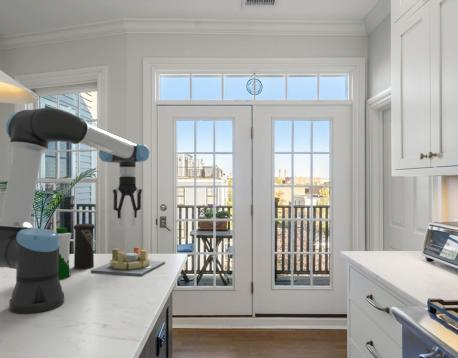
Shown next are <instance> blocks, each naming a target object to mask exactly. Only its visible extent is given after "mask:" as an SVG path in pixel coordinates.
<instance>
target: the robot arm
mask: <svg viewBox="0 0 458 358" xmlns="http://www.w3.org/2000/svg"><path fill="white" fill-rule="evenodd" d="M5 131H6V132H5V133H6V134H7V135H8V138H9V139H10V140H9V146H11V148H12V149H13V152H12V157H11V163H10V167H9V173H8V179H7V182H6V186H5V187H6V188H5V193H4V199H3V203H2V209H1V214H0V268H7V269H13V270H16V273H15V275H16V276H15V277H16V280H15V286H14V288H13V291H12V294H11V298H9V302H8V310H9V312H11V313H15V314H34V313H35V314H36V313H41V312H46V311H51V310H53V309H54V310H55V309H56V308H58V307H60V306H62V305H63V304H64V302H65V293H64V291H63V289H62V286H61V285H62V284H61V281H60V280H59V278H58V271H59V245H60V244H59V236H58V234H57V233H56V230H52V229H47V228H39V227H38V228H34V226H33V224H32V223H31V217H32V216H31V215H32V211H33V206H34V199H35V196H36V195H35V194H36V189H37V184H38V176H39V172H40V167H41V162H42V161H41V160H42V156H43V154H45V153H47V152H48V151H49V150H48V149H49V143H53V142H55V143H56V142H63V143H71V144H73V145H79V144H82V145H84V146H87V147H90V148H93V149H96V150H98V157H99V159H100V161H102V162H104V163H114V164H118V165H119V169H118V170H119V173H118V174H119V180H118V187H117V188H115V189H114V188H113V189H112V194H113V210H114V211H116V212H117V219H119V226H123V211H122V208H123V204H124V199H125V197H127V196H129V198H130V202H131V205H132V210H131V226H135V223H136V222H135V219H137V217H138V215H137V213H138V211H140V210H141V209H142V202H141V201H142V200H141V199H142V197H141V196H142V192H143V190H142V189H141V188H137V185H136V184H137V182H136V175H137V171H136V170H137V168H136V164H137V163H141V162H146V161H147V160H148V159H149V157H150V150H149V147H148V146H147V145H146V144H143V143H138V144H136V143H133V142H131V141H128V140H127V139H125V138H123V137H119V136H117V135H115V134H112V133H110V132H108V131H105V130H103V129H100V128H98V127H96V126H94V125H91V124H89V123H88V122H87V121H86V119H84V118H82V117H79V116H77V115H76V114H73V113H70V112H67V111H65V110H62V109H59V108H55V107H42V108H33V109H24V110H23V109H22V110H20V111H17V112H14V113H13V114H12V115H10V116H9V117H8V119H7V120H6V125H5ZM135 192H136V193H137V194H136V200H135V195H134V193H135ZM118 193H120V194H121V195H120V198H119V202H118Z"/></svg>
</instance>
